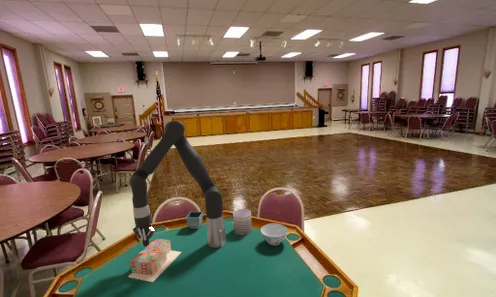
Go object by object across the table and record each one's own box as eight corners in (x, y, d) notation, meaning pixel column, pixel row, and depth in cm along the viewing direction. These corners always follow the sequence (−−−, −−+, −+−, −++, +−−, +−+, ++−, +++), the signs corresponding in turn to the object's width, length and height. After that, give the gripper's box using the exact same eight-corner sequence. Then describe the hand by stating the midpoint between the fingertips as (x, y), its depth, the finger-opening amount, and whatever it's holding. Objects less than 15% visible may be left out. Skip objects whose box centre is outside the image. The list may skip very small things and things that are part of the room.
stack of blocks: (155, 238, 143) (175, 240, 140) (156, 248, 144) (176, 250, 141) (129, 261, 123) (152, 263, 120) (131, 272, 124) (153, 275, 121)
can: (255, 229, 161) (254, 211, 159) (243, 237, 153) (242, 218, 151) (242, 224, 169) (241, 207, 167) (230, 231, 160) (229, 213, 158)
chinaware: (285, 234, 153) (284, 222, 152) (289, 248, 138) (289, 235, 137) (260, 236, 153) (259, 224, 151) (262, 250, 138) (261, 237, 137)
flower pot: (191, 224, 173) (190, 211, 171) (203, 224, 172) (202, 211, 170) (186, 230, 164) (185, 217, 162) (200, 230, 163) (199, 217, 162)
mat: (181, 252, 140) (181, 252, 140) (152, 282, 117) (152, 281, 117) (159, 249, 144) (159, 248, 144) (128, 277, 122) (128, 276, 121)
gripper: (158, 211, 129) (161, 243, 132) (136, 209, 133) (140, 240, 136) (148, 218, 122) (152, 251, 125) (125, 216, 126) (130, 248, 129)
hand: (146, 245), depth 130 cm, fingers closed
